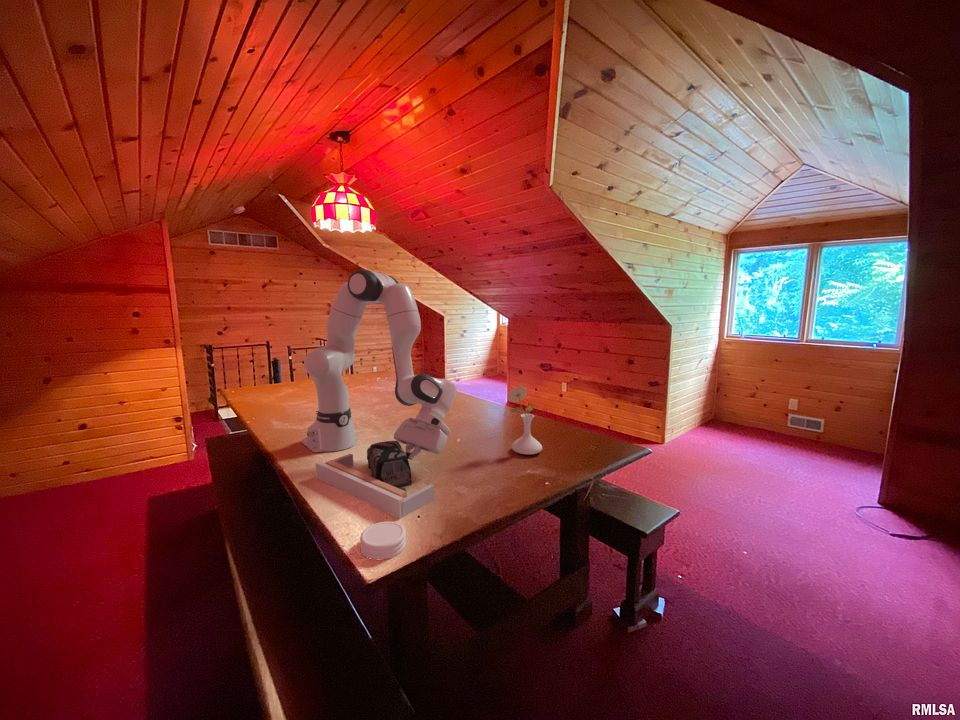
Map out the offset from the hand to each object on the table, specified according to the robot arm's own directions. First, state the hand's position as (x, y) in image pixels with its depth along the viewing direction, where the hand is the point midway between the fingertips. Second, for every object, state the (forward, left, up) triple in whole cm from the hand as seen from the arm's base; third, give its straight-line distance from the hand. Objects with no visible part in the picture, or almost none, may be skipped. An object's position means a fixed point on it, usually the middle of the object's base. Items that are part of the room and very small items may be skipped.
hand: (407, 458), depth 125 cm
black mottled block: (-3, -6, -5) cm, 8 cm away
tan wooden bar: (0, -17, -4) cm, 18 cm away
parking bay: (0, -14, -4) cm, 15 cm away
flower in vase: (+22, +38, -5) cm, 44 cm away
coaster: (+25, -30, -5) cm, 40 cm away
